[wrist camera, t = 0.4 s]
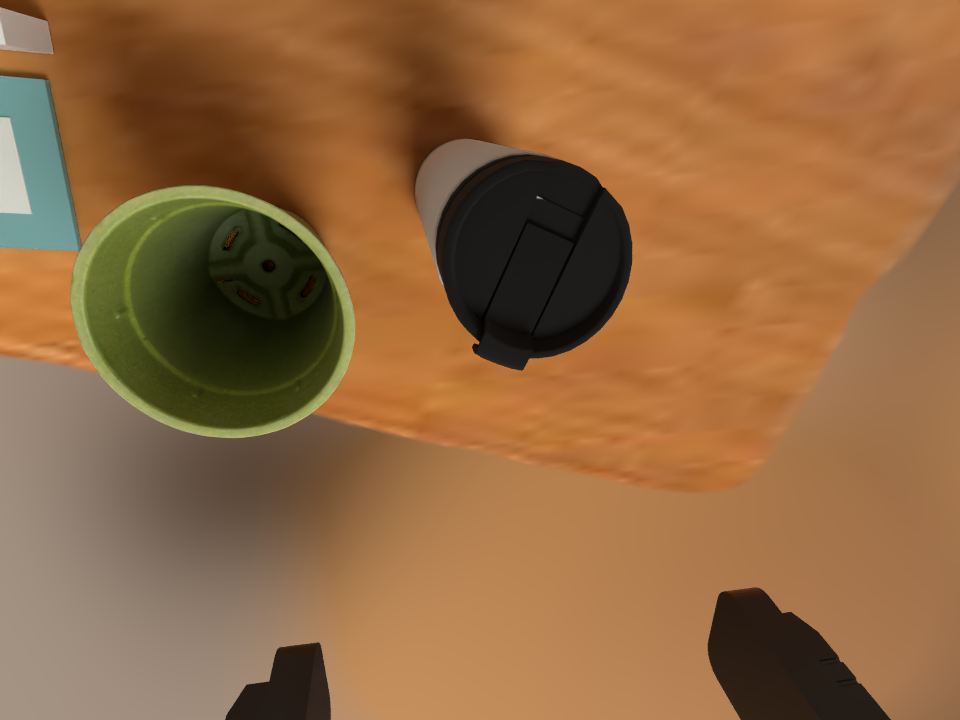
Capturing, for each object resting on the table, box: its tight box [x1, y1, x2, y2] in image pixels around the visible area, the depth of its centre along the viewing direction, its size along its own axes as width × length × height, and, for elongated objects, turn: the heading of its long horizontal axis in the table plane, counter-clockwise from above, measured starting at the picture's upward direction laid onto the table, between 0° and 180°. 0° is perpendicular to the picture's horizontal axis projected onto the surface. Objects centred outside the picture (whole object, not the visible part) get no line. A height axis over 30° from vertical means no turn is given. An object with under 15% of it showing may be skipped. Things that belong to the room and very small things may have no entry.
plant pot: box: [70, 185, 355, 438], centre depth 30 cm, size 12×12×11 cm
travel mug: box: [415, 139, 632, 371], centre depth 26 cm, size 6×7×20 cm
